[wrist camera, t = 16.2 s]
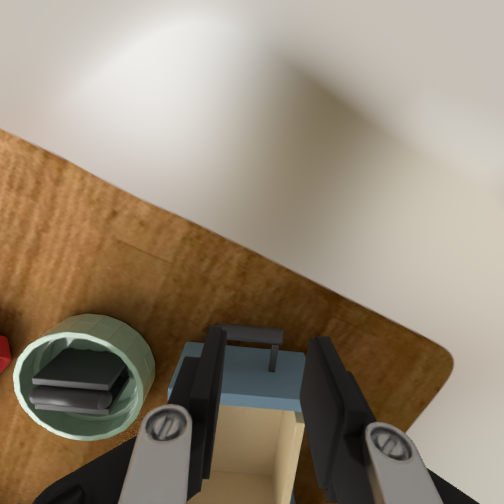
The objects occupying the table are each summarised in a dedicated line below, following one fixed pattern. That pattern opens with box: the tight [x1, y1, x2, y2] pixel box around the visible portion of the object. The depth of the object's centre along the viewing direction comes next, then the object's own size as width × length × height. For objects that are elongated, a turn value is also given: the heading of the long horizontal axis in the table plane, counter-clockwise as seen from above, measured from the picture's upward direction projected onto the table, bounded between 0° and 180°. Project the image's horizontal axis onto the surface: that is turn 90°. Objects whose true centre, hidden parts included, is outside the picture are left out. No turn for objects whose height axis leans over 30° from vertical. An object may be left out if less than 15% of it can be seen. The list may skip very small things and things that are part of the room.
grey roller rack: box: [29, 348, 129, 415], centre depth 28 cm, size 7×3×6 cm, turn 84°
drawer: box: [168, 323, 306, 504], centre depth 28 cm, size 21×12×7 cm, turn 174°
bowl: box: [13, 314, 155, 441], centre depth 29 cm, size 12×12×4 cm
